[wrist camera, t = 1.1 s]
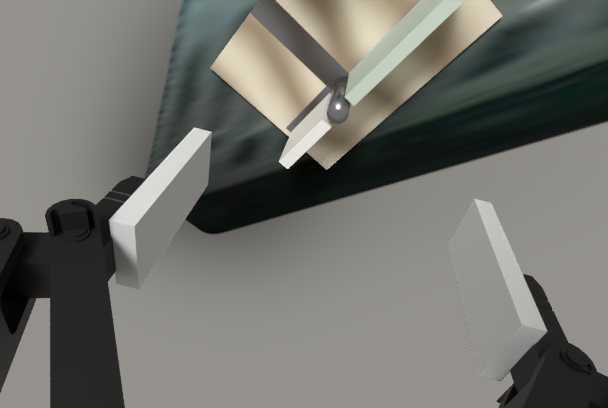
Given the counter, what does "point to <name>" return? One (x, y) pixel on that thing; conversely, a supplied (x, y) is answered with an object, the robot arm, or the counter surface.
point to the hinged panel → (397, 45)
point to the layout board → (336, 60)
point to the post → (338, 102)
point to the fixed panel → (307, 133)
